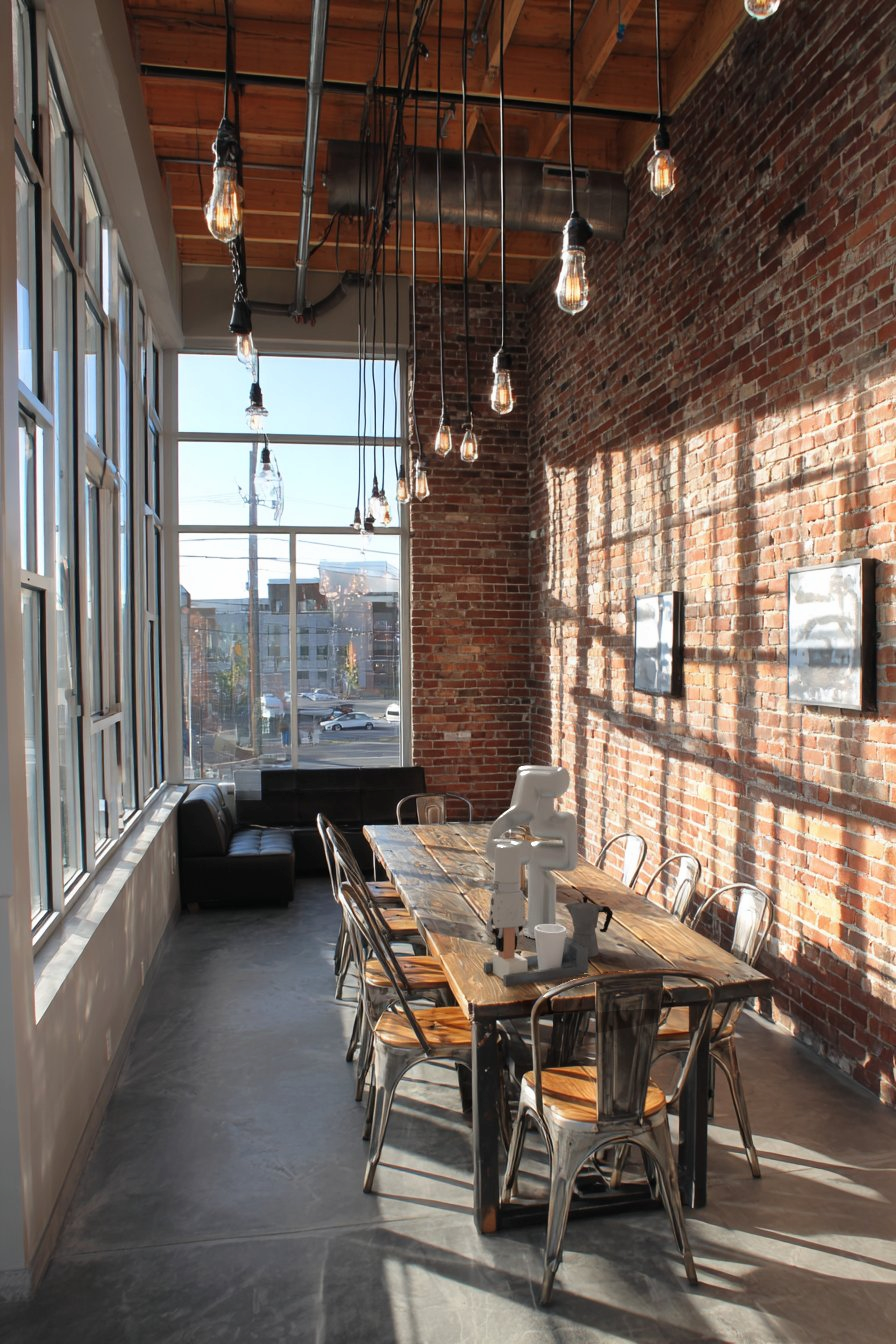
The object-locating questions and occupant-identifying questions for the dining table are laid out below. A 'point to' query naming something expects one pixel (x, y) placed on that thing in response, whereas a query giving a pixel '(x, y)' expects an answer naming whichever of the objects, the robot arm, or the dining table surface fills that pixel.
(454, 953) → the dining table surface
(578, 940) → the coffeepot
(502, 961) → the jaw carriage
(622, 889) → the dining table surface
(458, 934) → the dining table surface
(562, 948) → the foam cup
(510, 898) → the robot arm
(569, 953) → the grey frame
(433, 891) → the dining table surface
